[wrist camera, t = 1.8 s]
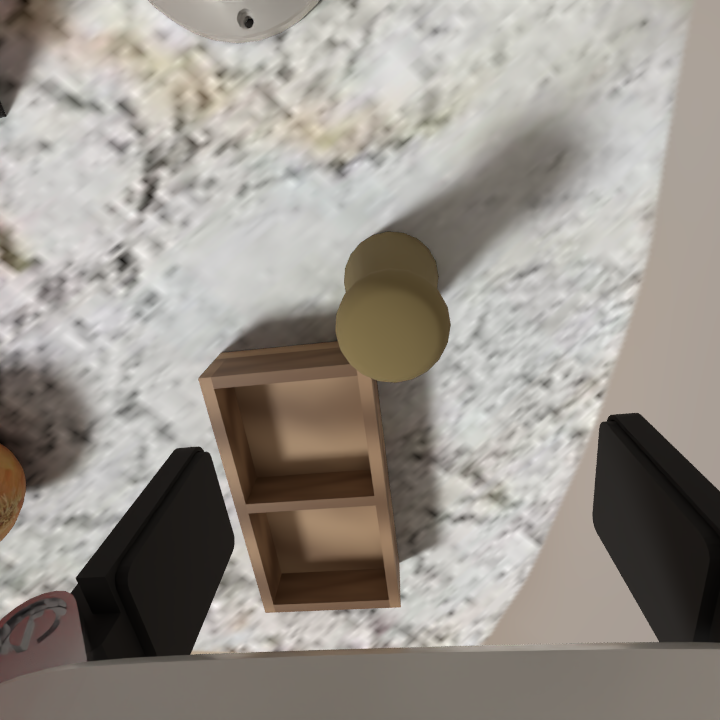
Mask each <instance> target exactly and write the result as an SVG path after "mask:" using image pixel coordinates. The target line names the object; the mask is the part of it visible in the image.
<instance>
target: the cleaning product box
mask: <svg viewBox="0 0 720 720" xmlns="http://www.w3.org/2000/svg"><path fill="white" fill-rule="evenodd" d="M2 117H6V114H5V111H4V109H3V107H2V105H1V102H0V118H2Z"/></svg>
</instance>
